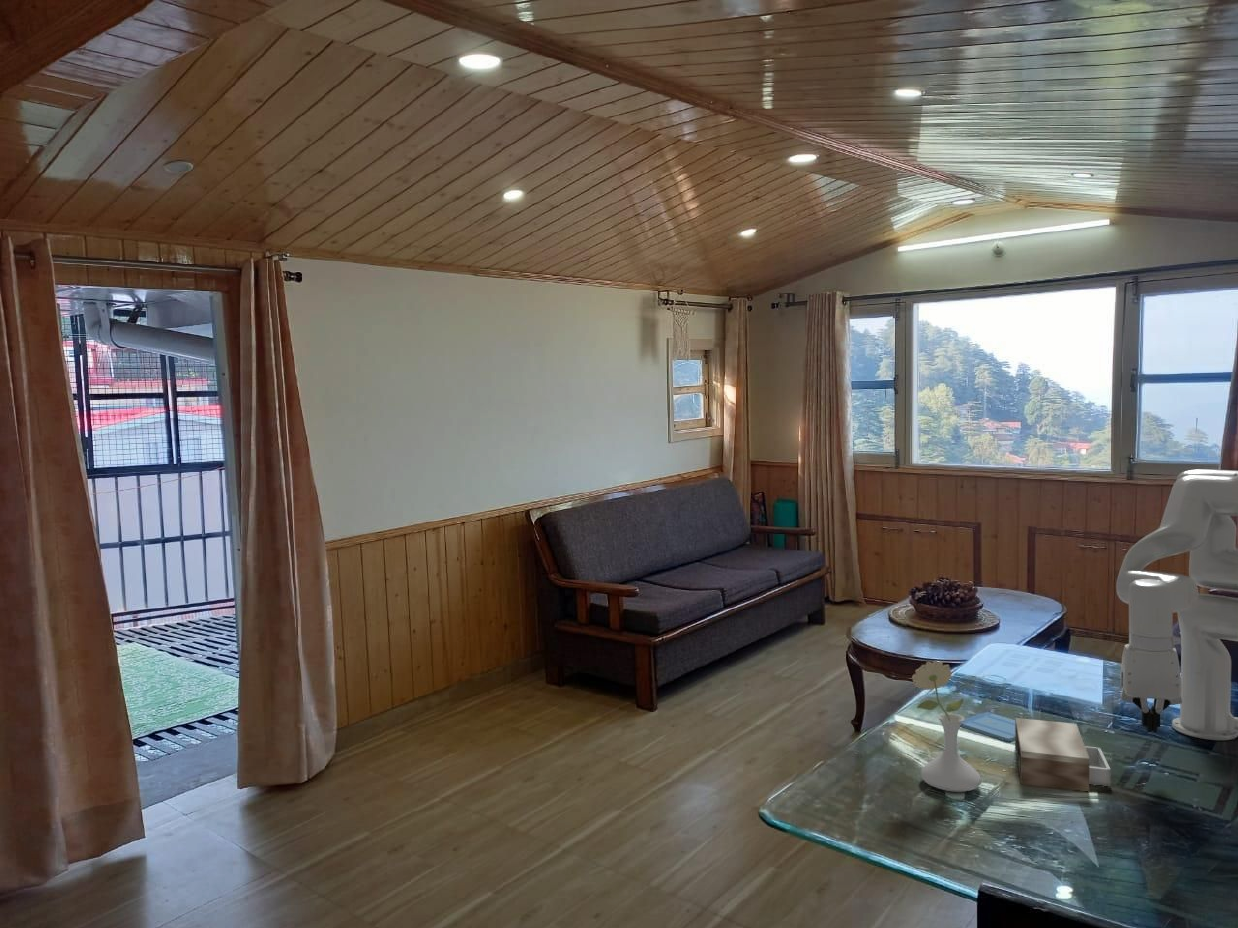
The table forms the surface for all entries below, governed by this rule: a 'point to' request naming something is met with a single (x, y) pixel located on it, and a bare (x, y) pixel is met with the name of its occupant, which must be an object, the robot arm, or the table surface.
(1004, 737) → the blue flat rectangular slab
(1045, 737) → the tan slab
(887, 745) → the table surface
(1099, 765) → the white open tray
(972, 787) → the flower in vase
